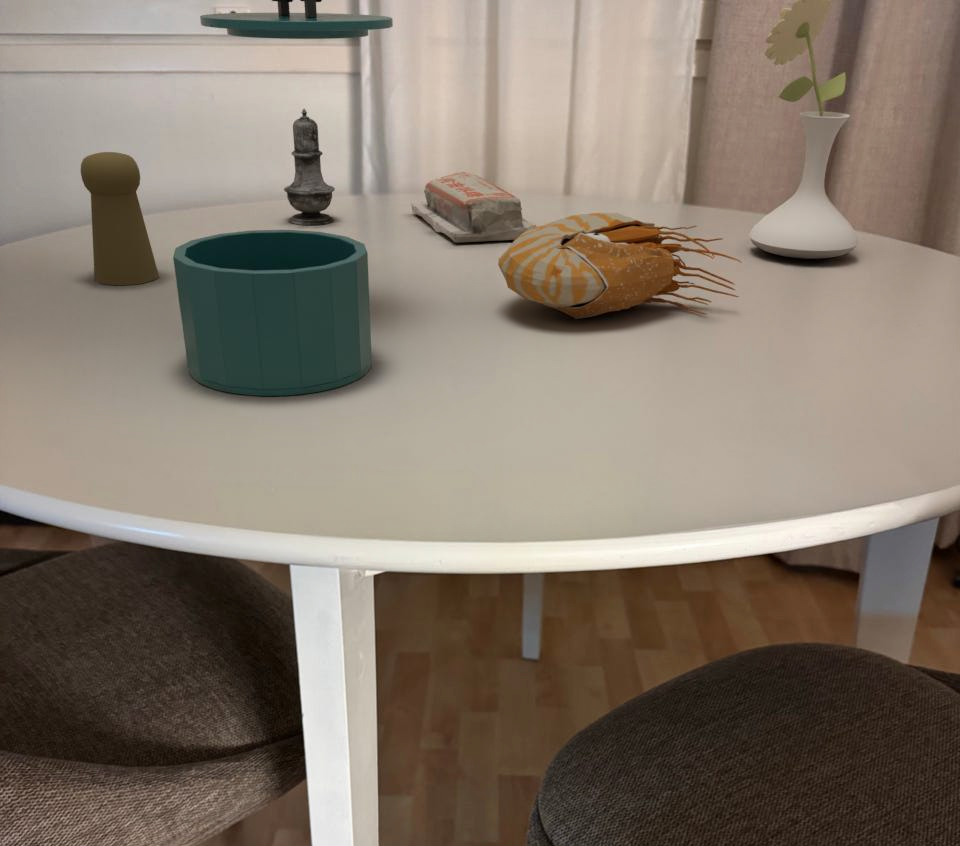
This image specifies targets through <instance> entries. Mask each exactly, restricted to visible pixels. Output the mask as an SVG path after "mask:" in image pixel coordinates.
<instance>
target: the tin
mask: <svg viewBox="0 0 960 846" xmlns="http://www.w3.org/2000/svg"><path fill="white" fill-rule="evenodd" d="M368 256H369V255H368V250H367V248H366V245H365V243H363V242H361V241H358V240H356V239H353V238H351V237H349V236H346V235H341V234H335V233H329V232H323V231H316V230H315V231H314V230H313V231H312V230H300V229H299V230H297V229H296V230H295V229H260V230H259V229H255V230H254V229H253V230H252V229H251V230H244V231H234V232H225V233H224V232H223V233H218V234H213V235H209V236H203V237H200V238H196V239H191V240H189V241H187V242H185V243H183V244H181V245H178V246H177V247H175V249H174V253H173V256H172V257H173V258H172V260H173V267H174V274H175V283H176V289H177V297H178V304H179V312H180V318H181V325H182V326H181V327H182V334H183V341H184V347H185V356H186V363H187V368H188V369H189V374H190V376H191V378H193V380H195V381H196V382H197V383H199V384H200V385H202V386H205V387H207V388H210V389H213V390H216V391H220V392H224V393H230V394H234V395H235V394H237V395H242V396H243V395H245V396H257V397H283V396H284V397H285V396H298V395H299V396H300V395H306V394H312V393H313V394H314V393H320V392H324V391H329V390H333V389H337V388H340V387H343V386H346V385H348V384H352V383H353V382H355V381H357V380H358V379H361V378H362V377H363V376H365V375H366V374H367V373H368V372H369V370H370V368H371V365H372V364H371V362H372V357H373V356H372V334H371V332H372V330H371V310H370V309H371V308H370V307H371V305H370V284H369V259H368V258H369V257H368Z"/></svg>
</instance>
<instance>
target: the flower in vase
mask: <svg viewBox="0 0 960 846" xmlns="http://www.w3.org/2000/svg"><path fill="white" fill-rule="evenodd" d="M832 6H833V3H832V0H794V2H793V3H792V5H791V8H790V7H785V8H783V9H782V10H781V12H780V14H779V19H780V20H778V22H776V24H774V25H773V26H772V28H771V31H770V33H769V34H768V35H767V37H766V38H765V43H766V44H770V45H769V47H767V49H765V51H764V56H766V58H767V59H768V60H769V61H772V60H774V62H773V65H775V66H778V65H781V66H783V65H785V64H786V63H788V62H792V61H794V60H795V59H796V58H797V56H798V55H799V56H802V55H803V54H804V53H806V52H807V50H808V53H809V57H810V64H811V75H812V79H810V78H809V77H808V76H800V77H798V78H796V79H793V80H792V81H790V82H789V83H788V84H787V85H786V86H784V88H783V89H782V90H781V92H780V94H779V96H778V98H779V99H781V100H784V101H786V102H790V103H795V102H797V101H800V100H801V99H802V98H803V97H804V96H805V95H806V94H808V92H809V91H811V89H812V87H813V89H814V93H815V98H816V102H817V107H818V110H817V111H816V110H812V111H811V110H810V111H801V112H798V116H799V118H800V120H801V122H802V125H803V128H804V134H805V157H804V167H803V173H802V176H801V180H800V183H799V186H798V188H797V190H796V191H795V193H794V194H793V195H792V196H790V197H789V199H787V200H786V201H784V202H783V203H782V204H781V205H779V206H778V207H776V208H775V209H773V210H772V211H770V212H769V213H768V214H766V215H765V216H764V217H762V218H761V219H760V220H759V221H758V222H757V223H756V224H755V225H754V226H752V229H751V230H750V233H749V235H748V237H749V240H750V242H751V244H753V245H754V246H755V247H757V248H759V249H760V250H762V251H764V252H766V253H770V254H773V255H776V256H781V257H785V258H794V259H803V260H804V259H805V260H806V259H807V260H816V259H817V260H818V259H819V260H820V259H828V258H835V257H836V258H837V257H840V256H843V255H845V254H849V253H850V252H852V251H854V249H856V247H857V246H858V244H859V241H858V234H857V232H856V231H855V230H854V228H853V226H852V224H850V222H849V221H848V220H847V219H846V218H845V216H843V214H842V213H841V212H840V211H839V210H838V209H837V208H836V206H834V204H833V203H832V202H831V200H830V199H829V197H828V196H827V193H826V189H825V178H826V172H827V167H828V162H829V158H830V153H831V150H832V147H833V144H834V142H835V139H836V138H837V137H836V136H837V134H838V133H839V131H840V129H841V128H842V127H843V125H844V124H845V123H846V122H847V120H848V119H849V118H850V116H851V115H850V114H848V113H845V112H844V113H843V112H838V111H837V112H836V111H824V109H823V104H822V102H825V101H828V100H832V99H834V98H838V97H840V96H842V95H843V94H844V92H845V90H846V82H847V81H846V77H847V76H846V72H845V71H844V72H842V73H840V74H838V75H837V76H835V77H833V78H831V79H829V80H827V81H825V82H822V83H821V84H819V85H818V81H817V73H816V72H817V71H816V61H815V54H814V50H813V45H812V44H813V43H814V42H815V41H816V39H817V37H818V36H820V34H821V33H822V32H823V31H824V26H823V25H824V24H825V23H826V21H827V20H828V18H829V13H830V11H831V8H832Z"/></svg>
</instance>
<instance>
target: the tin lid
mask: <svg viewBox="0 0 960 846" xmlns="http://www.w3.org/2000/svg"><path fill="white" fill-rule="evenodd" d="M303 3H304V12H290V2H278V1H277V11H278V12H228V13H227V12H226V13H208V14H202V15H200V17H199V19H200V25H201V26H202V27H206V28H215V29H225V30H226V33H227V36H228V35H229V36H232V37H233V36H234V37H239V38H240V37H242V38H255V39H278V40H279V39H281V40H282V39H286V40H287V39H288V40H289V39H290V40H296V39H297V40H298V39H299V40H322V39H323V40H331V39H333V40H334V39H335V40H336V39H354V38H364V37H368V36H369V31H371V30H385V29H391V28H392V27H393V26H394V22H393V21H394V19H393V17H391V16H384V15H375V14H374V15H373V14H360V13H359V14H358V13H330V12H329V13H327V12H326V13H325V12H317V2H316V0H304V1H303Z"/></svg>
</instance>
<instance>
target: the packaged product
mask: <svg viewBox="0 0 960 846" xmlns="http://www.w3.org/2000/svg"><path fill="white" fill-rule="evenodd" d="M423 193H424V197H425V200H426V202H424V201H422V202H419V203H418V204H416V203H413V202H411V210H412V213H413V214H415V215H417V216H419V217H420V218H422V219H423V220H424V221H425V222H427V224H429V225H430V226H431V227H432V229H433V230H434V232H435V233H442V234H443V235H445V236H446V237H448V238H450V239H451V240H452V241H453V242H454V243H457V244H464V243H481V242H497V241H499V242H501V241H514V240H515V239H516V238H518V237H519V236H520V235H521V234H523V233H524V232H526V231H527V230H529V229H531V228H534V227H537V224H533V223H532V222H531V221H529V220H526V219H525V218H524V217H523V213H522V210H523V208H522V202H521V199H520V198H518V197H516V196H515V195H514V194H512V193H510V192H508V191H507V190H504V189H503V188H501V187H499V186H497V185H496V184H493V183H491V182H489V181H488V180H486V179H485V178H484V179H483V178H482V177H480V176H479V175H476V174H473V173H471V172H465V171H461V172H455V173H452V174H449V175H443V176H440V177H439V178H435V179H433V180H431V181H429V182H427V183H426V184H425V187H424V190H423Z"/></svg>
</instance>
